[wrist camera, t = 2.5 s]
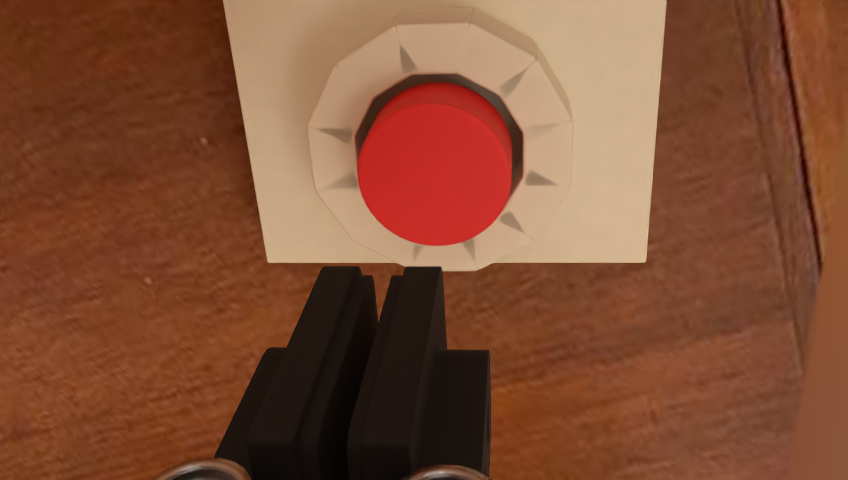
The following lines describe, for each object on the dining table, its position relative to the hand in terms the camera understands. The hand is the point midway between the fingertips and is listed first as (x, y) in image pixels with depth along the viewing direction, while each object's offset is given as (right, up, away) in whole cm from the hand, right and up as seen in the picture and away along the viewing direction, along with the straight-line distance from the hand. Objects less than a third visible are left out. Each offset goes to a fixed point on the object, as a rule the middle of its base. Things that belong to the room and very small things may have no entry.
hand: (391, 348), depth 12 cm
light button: (+1, +4, +7) cm, 9 cm away
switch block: (+1, +6, +11) cm, 12 cm away
